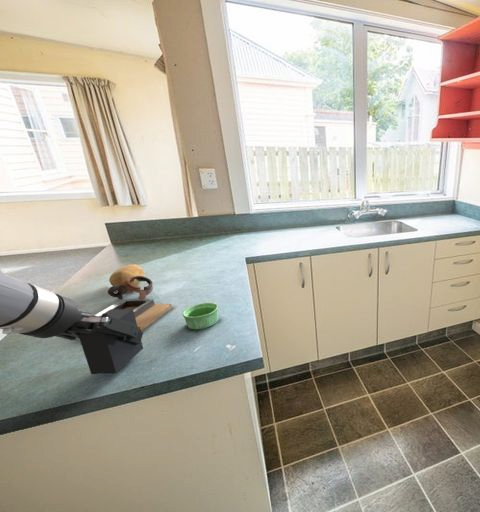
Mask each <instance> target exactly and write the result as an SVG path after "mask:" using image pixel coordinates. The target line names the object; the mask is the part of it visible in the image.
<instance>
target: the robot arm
mask: <svg viewBox="0 0 480 512" xmlns="http://www.w3.org/2000/svg"><path fill="white" fill-rule="evenodd" d="M95 315H96V314H91V313H87V311H85V310H84V311H83V310H80V309H79V307H78V305H77V303H76V302H75V301H74V300H73V299H72V298H69V297H66V296H64V295H61V294H59V293H55V292H52V291H51V290H48V289H46V288H43V287H41V286H38V285H35V284H33V283H30V282H26V281H24V280H21V279H18V278H16V277H14V276H10V275H8V274H6V273H5V272H4V271H2V269H1V268H0V330H2V331H1V334H3V335H10V334H12V333H17V334H19V335H23V336H28V337H33V338H38V339H49V338H53V337H57V338H61V339H65V340H69V341H76V340H77V339H78V340H80V339H79V332H80V333H85V334H90V333H99V334H105V335H110V336H115V337H118V339H119V341H127V342H131V343H134V344H140V343H141V342H142V339H143V335H144V332H143V331H137V330H135V327H136V325H135V324H132V323H129V322H126V321H123V320H121V319H118V318H115V317H113V316H112V315H110V314H108V313H103V314H102V315H101V316H100V317H99V316H95Z"/></svg>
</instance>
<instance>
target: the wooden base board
mask: <svg viewBox="0 0 480 512" xmlns="http://www.w3.org/2000/svg"><path fill="white" fill-rule="evenodd" d="M172 308H173V305H172V303H155V301H154V298H153V299H152V298H150V299H149V298H148V299H147V298H146V299H145V298H144V299H124V300H122V301H120V302H119V303H117V304H112V305H110V306H108V307H107V308H105V309H103V310H102V311H100V312H98V313H96V314H94V315H95V316H101V315H102V314H103V313H106V312H107V311H109V310H116V309H133V311H134V315H135V319H136V323H137V327H138V330H139V331H140V332H143V331H144V330H145V329H146V328H147V327H149V326H150V325H152V324H153V323H154V322H155V321H157V320H158V319H159V318H161V317H162V316H164V314H166V313H168V312H169V311H170V310H171V309H172Z"/></svg>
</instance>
